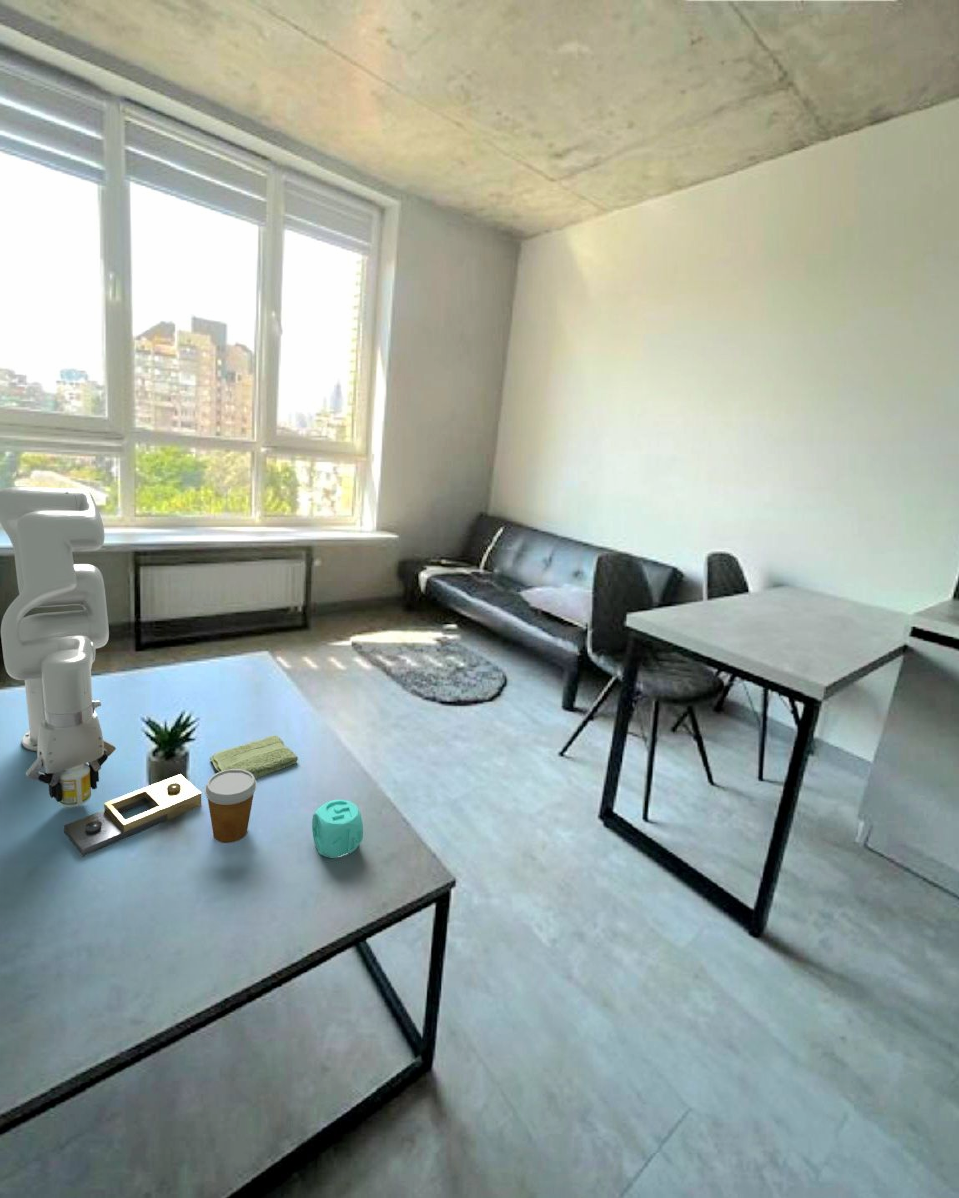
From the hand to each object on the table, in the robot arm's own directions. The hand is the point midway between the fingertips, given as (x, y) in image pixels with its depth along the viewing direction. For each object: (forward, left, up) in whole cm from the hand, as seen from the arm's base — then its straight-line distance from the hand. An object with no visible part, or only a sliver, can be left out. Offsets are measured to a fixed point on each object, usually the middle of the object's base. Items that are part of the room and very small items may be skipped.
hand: (74, 790), depth 115 cm
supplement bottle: (0, 0, -2) cm, 2 cm away
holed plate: (+11, +7, -4) cm, 14 cm away
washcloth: (+8, +34, -4) cm, 36 cm away
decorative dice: (+44, +31, -4) cm, 54 cm away
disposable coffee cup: (+27, +18, -4) cm, 33 cm away
